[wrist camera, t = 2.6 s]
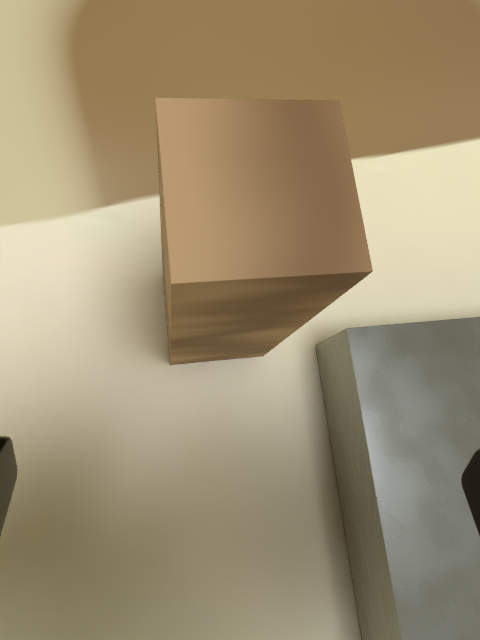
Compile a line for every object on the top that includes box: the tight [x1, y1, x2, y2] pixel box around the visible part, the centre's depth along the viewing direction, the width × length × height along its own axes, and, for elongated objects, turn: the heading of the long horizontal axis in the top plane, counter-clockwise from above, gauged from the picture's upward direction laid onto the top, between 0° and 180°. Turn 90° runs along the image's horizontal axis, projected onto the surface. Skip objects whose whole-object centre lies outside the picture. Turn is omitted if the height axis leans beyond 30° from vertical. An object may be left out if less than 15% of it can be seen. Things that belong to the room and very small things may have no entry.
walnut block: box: [155, 98, 373, 365], centre depth 16 cm, size 4×4×12 cm
